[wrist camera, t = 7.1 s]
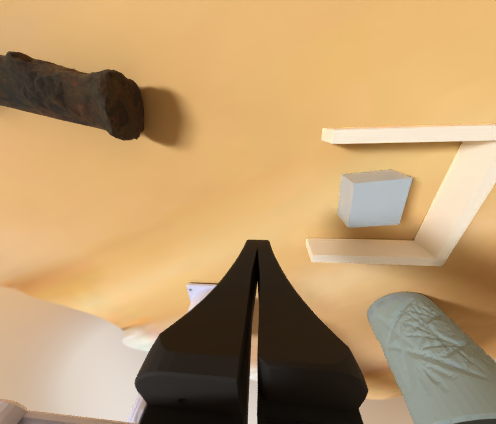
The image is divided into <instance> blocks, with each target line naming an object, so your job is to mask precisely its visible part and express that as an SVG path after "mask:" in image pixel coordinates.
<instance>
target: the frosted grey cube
mask: <svg viewBox="0 0 496 424" xmlns="http://www.w3.org/2000/svg"><path fill="white" fill-rule="evenodd" d="M412 179H413V178H412V177H409V176H407V175H404V174H402V173H399V172H397V171H394V170H392V169H389V170H380V171H370V172H361V173H351V174H342V176H341V185H340V195H339V204H338V216H339V217H340V218H341V219H342V221H343V222H344V223H345V225H346V226H347V227H348V228H354V227H369V226H384V225H399V223H400V220H401V216H402V213H403V209H404V206H405V203H406V199H407V196H408V192H409V189H410V185H411V182H412Z"/></svg>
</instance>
